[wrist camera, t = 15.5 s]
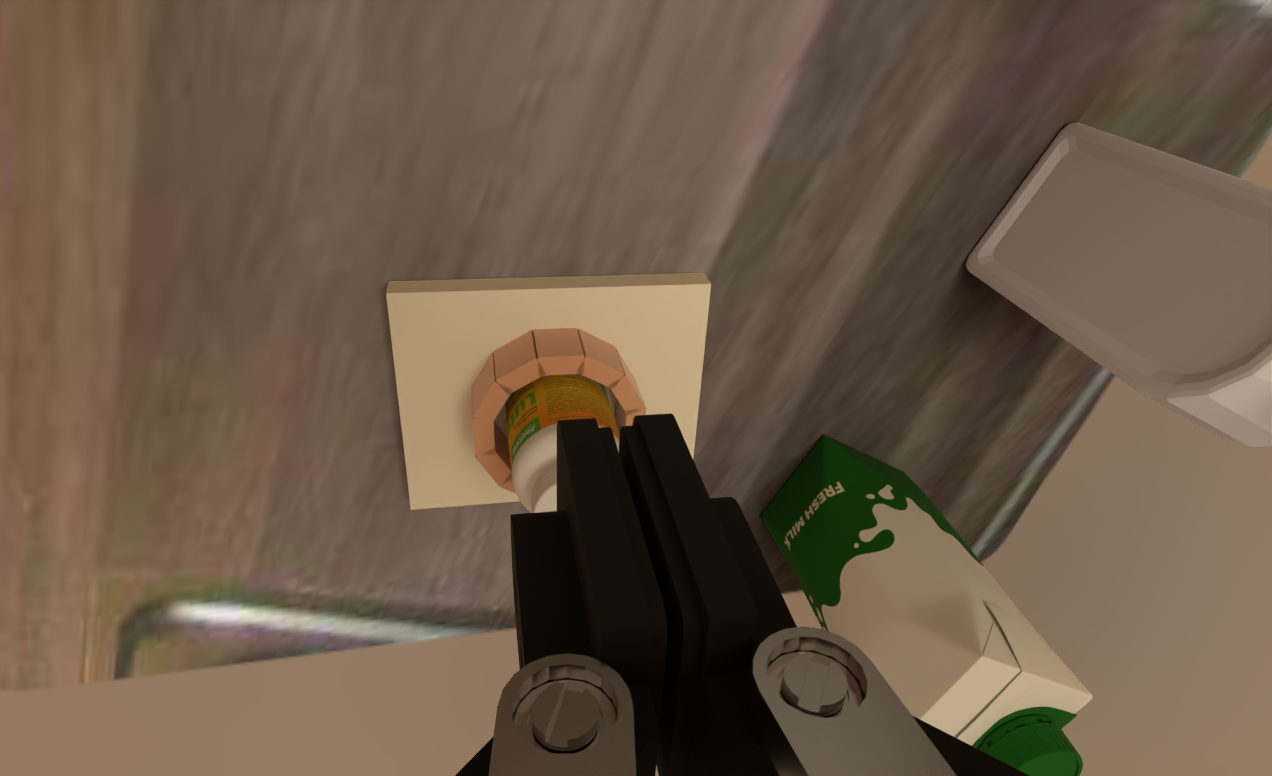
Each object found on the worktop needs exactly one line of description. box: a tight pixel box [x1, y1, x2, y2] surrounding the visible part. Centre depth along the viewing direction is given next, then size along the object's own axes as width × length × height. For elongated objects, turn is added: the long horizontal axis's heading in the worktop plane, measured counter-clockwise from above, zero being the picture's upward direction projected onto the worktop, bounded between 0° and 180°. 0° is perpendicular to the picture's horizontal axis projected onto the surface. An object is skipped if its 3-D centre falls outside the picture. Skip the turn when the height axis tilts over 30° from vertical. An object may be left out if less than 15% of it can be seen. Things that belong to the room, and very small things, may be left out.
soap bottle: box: [966, 123, 1272, 447], centre depth 35 cm, size 9×7×23 cm
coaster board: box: [386, 273, 711, 510], centre depth 44 cm, size 13×16×2 cm
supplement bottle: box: [505, 374, 620, 513], centre depth 39 cm, size 5×5×10 cm
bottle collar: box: [472, 328, 646, 493], centre depth 42 cm, size 9×9×3 cm
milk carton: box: [760, 435, 1092, 776], centre depth 44 cm, size 9×9×20 cm
